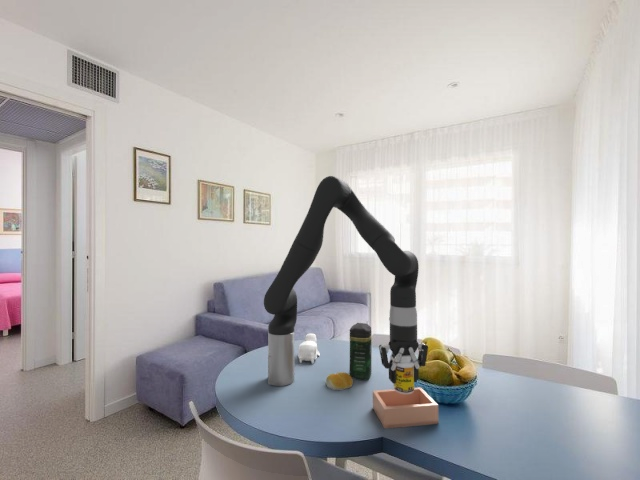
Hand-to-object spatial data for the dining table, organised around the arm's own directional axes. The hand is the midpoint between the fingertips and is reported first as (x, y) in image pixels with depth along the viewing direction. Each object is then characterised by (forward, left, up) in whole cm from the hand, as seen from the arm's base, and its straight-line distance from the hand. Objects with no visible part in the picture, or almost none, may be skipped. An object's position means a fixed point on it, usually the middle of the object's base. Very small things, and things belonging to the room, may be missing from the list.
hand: (403, 381), depth 85 cm
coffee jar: (-5, +27, -10) cm, 29 cm away
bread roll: (-14, +21, -10) cm, 27 cm away
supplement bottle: (0, 0, -3) cm, 3 cm away
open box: (0, 0, -9) cm, 9 cm away
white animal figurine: (-22, +47, -10) cm, 53 cm away
